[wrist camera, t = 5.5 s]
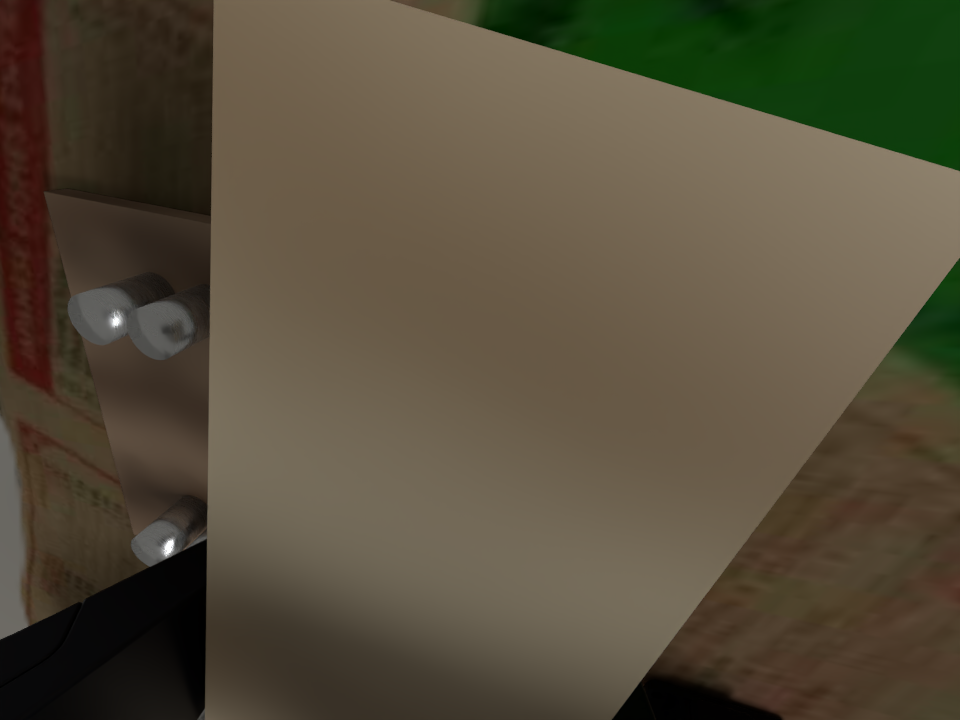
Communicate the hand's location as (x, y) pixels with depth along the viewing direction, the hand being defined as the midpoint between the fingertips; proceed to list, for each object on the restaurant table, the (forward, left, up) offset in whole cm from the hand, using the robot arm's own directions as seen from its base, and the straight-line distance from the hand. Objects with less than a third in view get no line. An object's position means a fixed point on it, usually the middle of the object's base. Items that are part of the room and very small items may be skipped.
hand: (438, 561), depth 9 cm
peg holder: (-7, +15, -11) cm, 20 cm away
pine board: (0, 0, -1) cm, 1 cm away
